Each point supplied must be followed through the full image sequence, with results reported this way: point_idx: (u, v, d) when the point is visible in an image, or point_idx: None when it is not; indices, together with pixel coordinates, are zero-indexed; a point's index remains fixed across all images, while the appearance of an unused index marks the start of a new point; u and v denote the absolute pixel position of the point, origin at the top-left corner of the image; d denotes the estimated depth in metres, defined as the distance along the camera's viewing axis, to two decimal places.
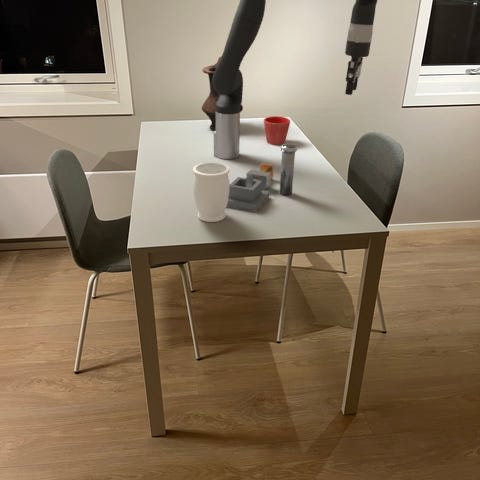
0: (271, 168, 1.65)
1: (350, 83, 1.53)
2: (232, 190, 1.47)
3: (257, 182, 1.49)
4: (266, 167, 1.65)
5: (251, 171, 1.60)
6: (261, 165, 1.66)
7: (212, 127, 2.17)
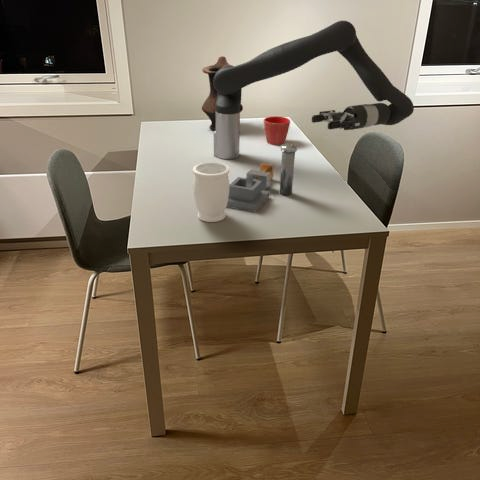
0: (271, 168, 1.65)
1: (340, 126, 1.49)
2: (232, 190, 1.47)
3: (257, 182, 1.49)
4: (266, 167, 1.65)
5: (251, 171, 1.60)
6: (261, 165, 1.66)
7: (212, 127, 2.17)
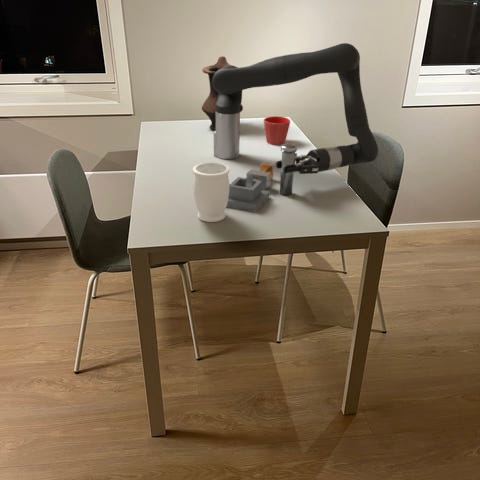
0: (271, 168, 1.65)
1: (294, 169, 1.51)
2: (232, 190, 1.47)
3: (257, 182, 1.49)
4: (266, 167, 1.65)
5: (251, 171, 1.60)
6: (261, 165, 1.66)
7: (212, 127, 2.17)
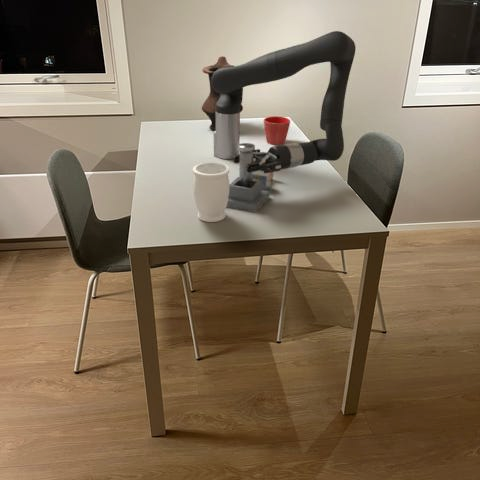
0: None
1: (259, 168, 1.42)
2: (232, 190, 1.47)
3: (257, 182, 1.49)
4: None
5: None
6: None
7: (212, 127, 2.17)
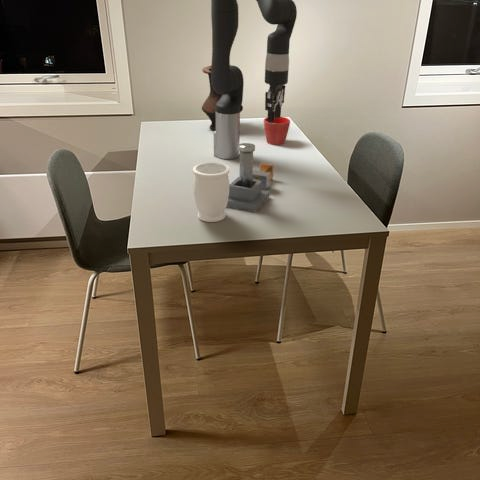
0: (271, 168, 1.65)
1: (270, 112, 1.57)
2: (232, 190, 1.47)
3: (257, 182, 1.49)
4: (266, 167, 1.65)
5: None
6: (261, 165, 1.66)
7: (212, 127, 2.17)
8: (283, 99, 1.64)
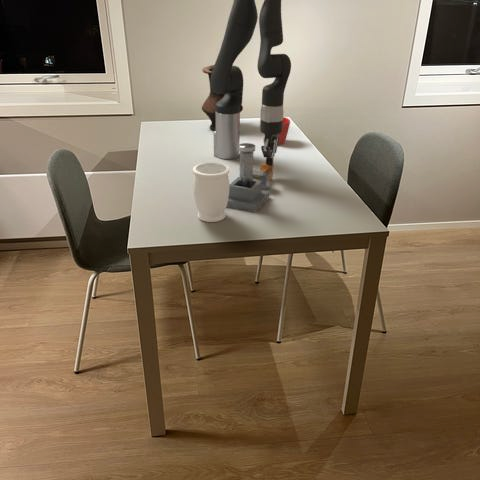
0: (271, 168, 1.65)
1: None
2: (232, 190, 1.47)
3: (257, 182, 1.49)
4: (266, 167, 1.65)
5: None
6: (261, 165, 1.66)
7: (212, 127, 2.17)
8: (276, 149, 1.67)
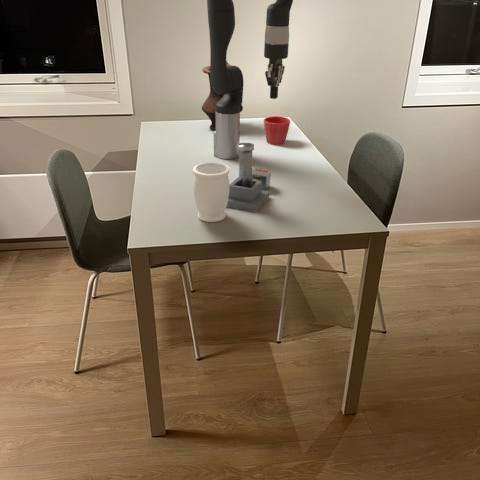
0: None
1: None
2: (232, 190, 1.47)
3: (257, 182, 1.49)
4: None
5: None
6: None
7: (212, 127, 2.17)
8: (281, 79, 1.57)
